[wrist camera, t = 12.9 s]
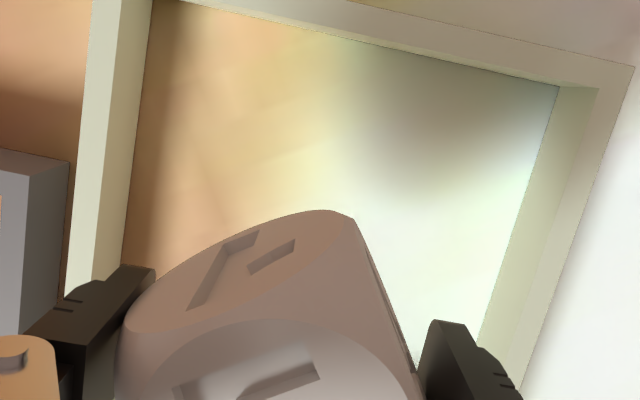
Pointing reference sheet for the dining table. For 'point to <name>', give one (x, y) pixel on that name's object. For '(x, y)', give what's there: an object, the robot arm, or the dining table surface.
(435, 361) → the robot arm
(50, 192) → the gray frame
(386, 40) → the sage frame
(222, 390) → the die
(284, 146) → the dining table surface
